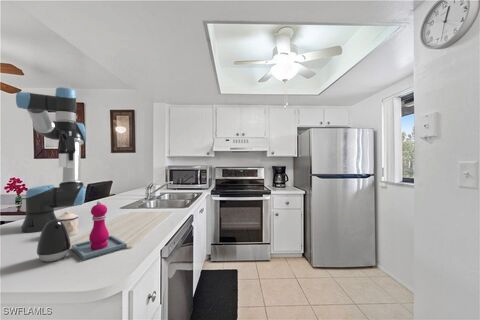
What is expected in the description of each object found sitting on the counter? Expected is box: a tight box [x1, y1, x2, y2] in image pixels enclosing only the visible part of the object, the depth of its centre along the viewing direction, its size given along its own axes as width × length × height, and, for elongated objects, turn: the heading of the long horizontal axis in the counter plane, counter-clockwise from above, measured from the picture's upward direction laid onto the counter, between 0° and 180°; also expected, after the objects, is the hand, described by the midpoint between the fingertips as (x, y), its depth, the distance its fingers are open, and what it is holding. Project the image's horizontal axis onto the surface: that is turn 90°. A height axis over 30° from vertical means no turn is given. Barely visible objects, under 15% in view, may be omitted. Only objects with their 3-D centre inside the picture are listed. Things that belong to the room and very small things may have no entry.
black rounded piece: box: [36, 220, 72, 262], centre depth 88 cm, size 10×10×15 cm
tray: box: [71, 234, 128, 262], centre depth 97 cm, size 16×16×2 cm
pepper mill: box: [88, 200, 110, 250], centre depth 97 cm, size 7×7×20 cm
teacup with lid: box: [56, 211, 79, 237], centre depth 114 cm, size 12×9×12 cm
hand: (66, 167), depth 105 cm, fingers open, 13 cm apart
